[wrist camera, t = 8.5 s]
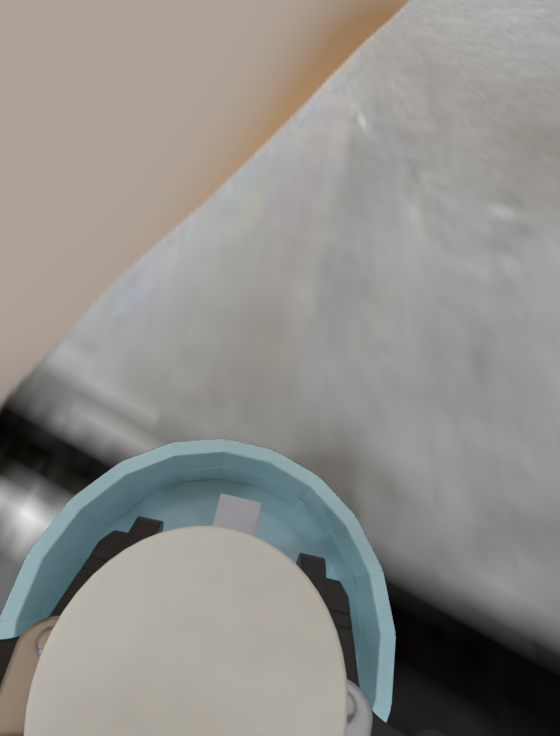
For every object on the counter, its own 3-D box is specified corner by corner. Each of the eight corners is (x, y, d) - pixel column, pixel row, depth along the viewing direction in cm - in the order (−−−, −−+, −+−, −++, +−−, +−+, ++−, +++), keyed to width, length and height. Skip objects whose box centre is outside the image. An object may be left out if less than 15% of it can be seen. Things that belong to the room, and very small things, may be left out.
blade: (351, 535, 19) (546, 448, 8) (320, 803, 15) (642, 1480, 4) (125, 484, 19) (-19, 318, 8) (32, 741, 15) (-600, 1239, 3)
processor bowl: (367, 503, 24) (406, 480, 19) (331, 854, 17) (376, 957, 12) (117, 445, 23) (91, 406, 18) (-14, 781, 17) (-106, 856, 12)
